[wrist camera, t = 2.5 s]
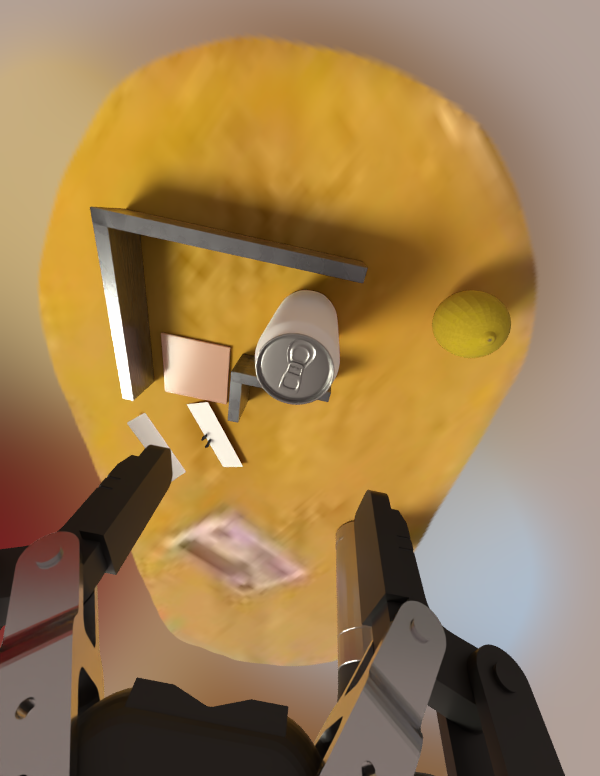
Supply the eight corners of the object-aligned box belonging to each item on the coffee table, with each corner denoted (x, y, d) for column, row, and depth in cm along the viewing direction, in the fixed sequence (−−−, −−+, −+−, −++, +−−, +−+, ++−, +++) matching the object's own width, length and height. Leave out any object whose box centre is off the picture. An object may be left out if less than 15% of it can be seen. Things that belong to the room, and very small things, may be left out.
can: (347, 301, 29) (356, 346, 18) (324, 355, 32) (321, 419, 22) (286, 279, 28) (261, 313, 18) (270, 337, 31) (240, 394, 21)
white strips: (245, 460, 43) (242, 469, 41) (176, 472, 45) (170, 482, 43) (210, 394, 37) (205, 402, 35) (133, 413, 40) (125, 421, 38)
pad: (230, 347, 32) (229, 348, 32) (226, 402, 37) (226, 404, 36) (162, 332, 32) (160, 333, 32) (166, 390, 36) (165, 391, 36)
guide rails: (362, 261, 27) (367, 268, 23) (318, 416, 36) (317, 439, 32) (125, 208, 26) (89, 206, 22) (145, 379, 36) (122, 398, 32)
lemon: (484, 276, 26) (538, 296, 19) (478, 332, 29) (524, 367, 22) (422, 289, 27) (452, 311, 20) (422, 341, 30) (449, 377, 23)
